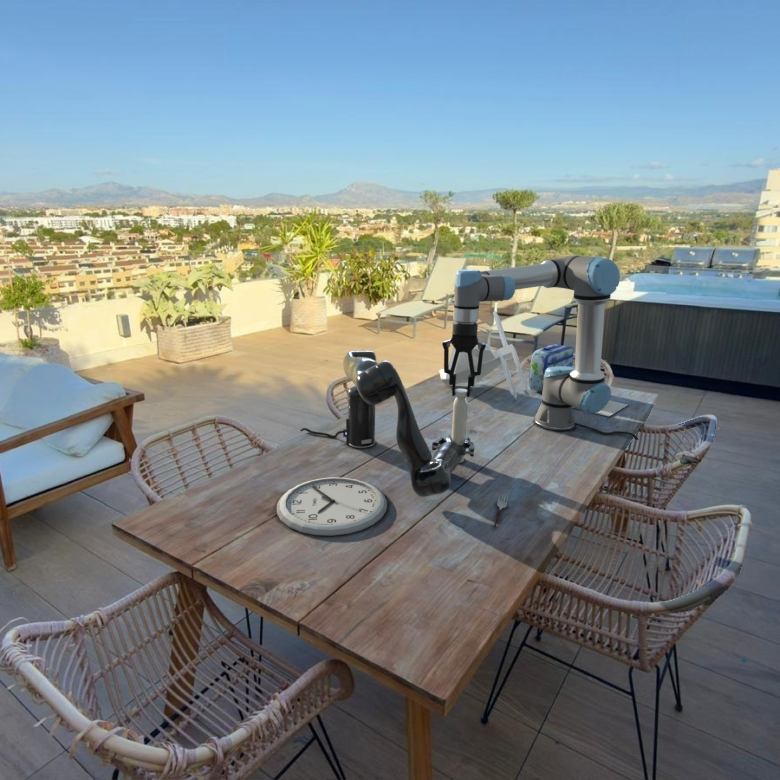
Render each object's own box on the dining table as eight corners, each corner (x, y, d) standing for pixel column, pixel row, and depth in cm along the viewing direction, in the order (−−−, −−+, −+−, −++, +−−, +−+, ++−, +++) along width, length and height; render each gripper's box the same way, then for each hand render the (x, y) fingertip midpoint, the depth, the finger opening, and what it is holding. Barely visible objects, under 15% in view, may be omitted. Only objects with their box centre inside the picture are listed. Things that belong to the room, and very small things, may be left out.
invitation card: (608, 416, 214) (573, 407, 224) (608, 416, 214) (573, 408, 224) (628, 404, 229) (594, 396, 238) (628, 405, 229) (594, 397, 238)
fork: (489, 527, 133) (489, 520, 132) (498, 498, 147) (499, 492, 147) (499, 529, 132) (500, 523, 132) (508, 500, 147) (508, 494, 146)
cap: (452, 393, 167) (452, 389, 166) (464, 392, 168) (464, 388, 167) (457, 397, 163) (457, 392, 162) (469, 396, 164) (469, 391, 164)
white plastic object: (461, 429, 252) (437, 405, 227) (444, 352, 274) (420, 323, 250) (535, 404, 240) (518, 377, 215) (510, 326, 262) (492, 293, 237)
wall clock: (392, 527, 129) (268, 531, 127) (391, 533, 130) (269, 537, 127) (383, 473, 158) (282, 475, 155) (383, 478, 158) (282, 480, 156)
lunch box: (545, 397, 238) (550, 352, 231) (524, 391, 245) (529, 348, 239) (572, 386, 255) (578, 344, 249) (552, 381, 262) (557, 340, 256)
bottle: (448, 458, 173) (451, 390, 166) (460, 456, 175) (464, 389, 168) (453, 463, 169) (457, 394, 162) (466, 462, 171) (470, 393, 164)
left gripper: (471, 450, 154) (482, 430, 169) (424, 443, 159) (439, 424, 174) (469, 473, 156) (480, 452, 171) (423, 465, 161) (438, 445, 176)
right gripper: (494, 321, 160) (488, 393, 167) (438, 318, 163) (435, 389, 170) (493, 325, 153) (488, 401, 160) (435, 322, 156) (432, 396, 163)
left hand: (460, 438), depth 172 cm, fingers closed on bottle, 4 cm apart
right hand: (461, 395), depth 165 cm, fingers closed on cap, 4 cm apart
